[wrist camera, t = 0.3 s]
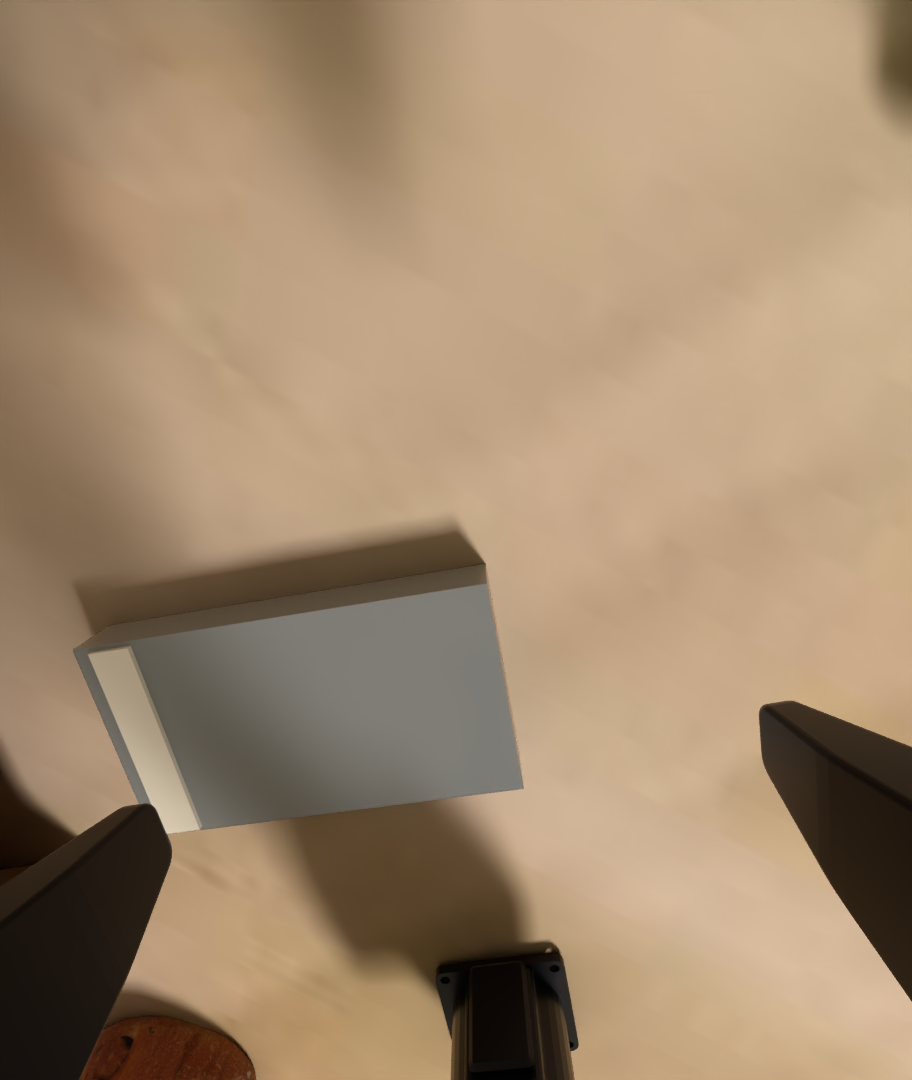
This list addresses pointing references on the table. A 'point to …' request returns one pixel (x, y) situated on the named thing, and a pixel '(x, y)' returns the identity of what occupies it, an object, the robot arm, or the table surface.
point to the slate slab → (310, 702)
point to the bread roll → (165, 1053)
